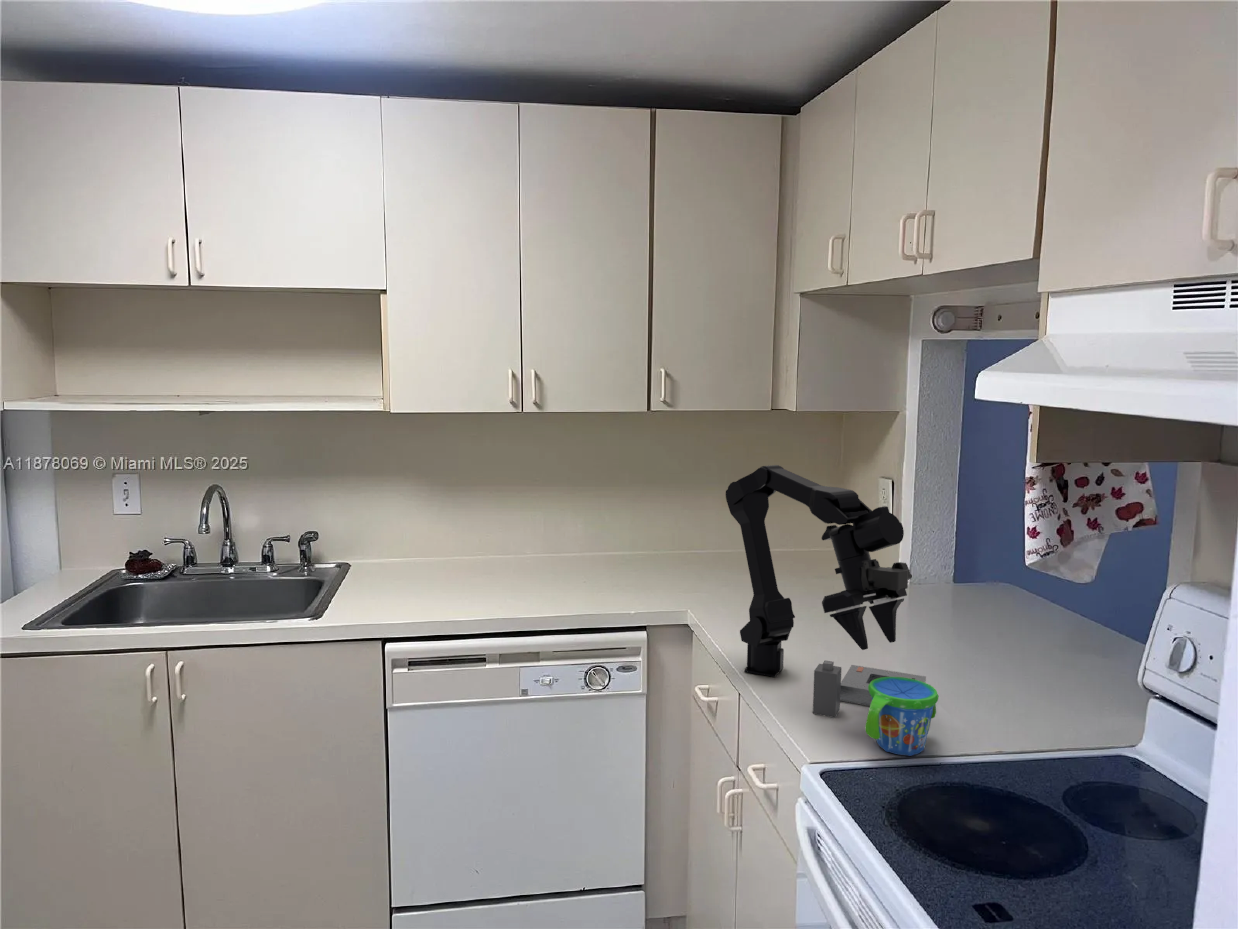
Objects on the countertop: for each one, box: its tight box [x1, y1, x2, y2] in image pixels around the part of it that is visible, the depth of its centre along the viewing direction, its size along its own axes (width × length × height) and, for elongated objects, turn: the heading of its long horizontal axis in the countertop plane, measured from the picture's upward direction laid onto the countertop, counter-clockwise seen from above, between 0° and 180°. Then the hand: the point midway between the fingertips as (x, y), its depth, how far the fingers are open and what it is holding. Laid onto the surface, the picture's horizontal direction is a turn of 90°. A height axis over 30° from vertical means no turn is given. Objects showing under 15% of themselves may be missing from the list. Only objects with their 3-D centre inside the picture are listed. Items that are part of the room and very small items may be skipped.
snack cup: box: [864, 677, 939, 757], centre depth 138 cm, size 16×10×10 cm
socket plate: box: [840, 664, 927, 707], centre depth 160 cm, size 14×12×3 cm
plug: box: [812, 660, 842, 719], centre depth 152 cm, size 4×4×9 cm
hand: (879, 645), depth 147 cm, fingers open, 9 cm apart
